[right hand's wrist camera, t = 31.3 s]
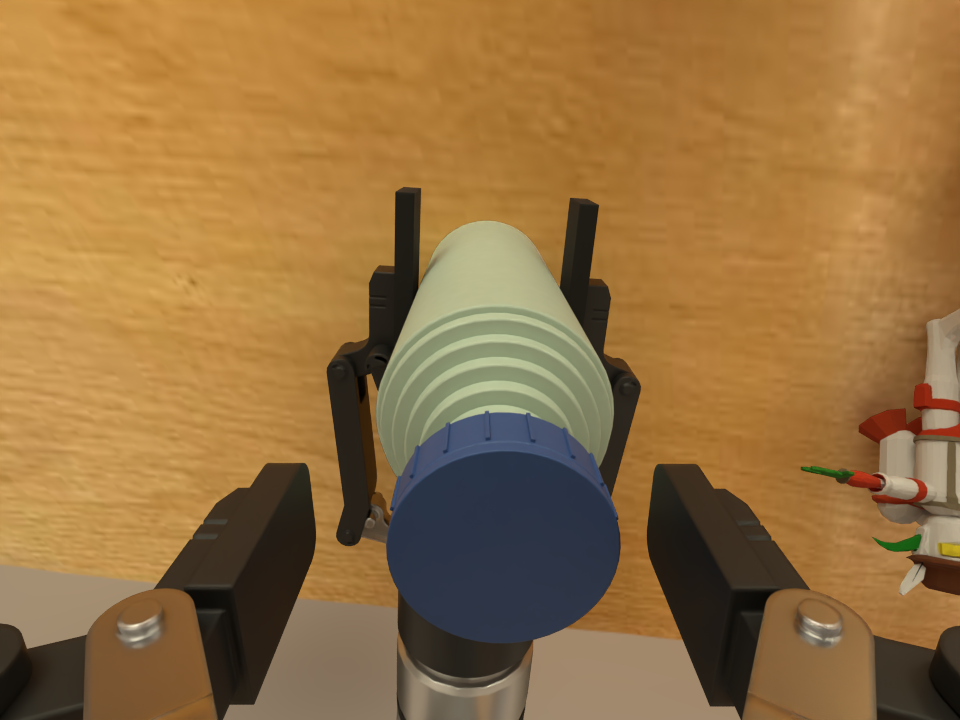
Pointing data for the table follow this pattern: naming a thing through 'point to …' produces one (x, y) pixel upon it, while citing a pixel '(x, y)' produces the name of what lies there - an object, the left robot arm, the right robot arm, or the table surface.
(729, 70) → the table surface
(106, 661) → the right robot arm
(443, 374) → the bottle
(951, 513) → the toy
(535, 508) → the cap
